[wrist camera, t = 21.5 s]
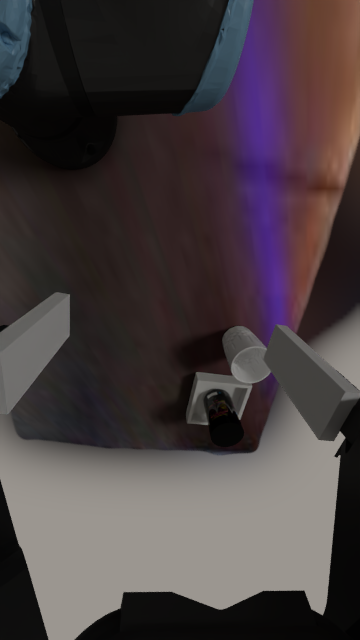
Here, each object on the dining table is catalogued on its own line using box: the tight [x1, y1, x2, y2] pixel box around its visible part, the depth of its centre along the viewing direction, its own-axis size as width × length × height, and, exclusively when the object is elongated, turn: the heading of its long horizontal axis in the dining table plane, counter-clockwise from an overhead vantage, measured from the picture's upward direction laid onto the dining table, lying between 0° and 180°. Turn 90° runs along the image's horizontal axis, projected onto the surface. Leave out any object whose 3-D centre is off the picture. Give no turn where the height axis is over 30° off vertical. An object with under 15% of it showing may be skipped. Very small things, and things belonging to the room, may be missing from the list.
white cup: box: [222, 326, 271, 383], centre depth 48 cm, size 8×8×10 cm
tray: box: [186, 372, 252, 425], centre depth 57 cm, size 13×13×3 cm
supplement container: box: [203, 389, 244, 447], centre depth 53 cm, size 7×7×10 cm
